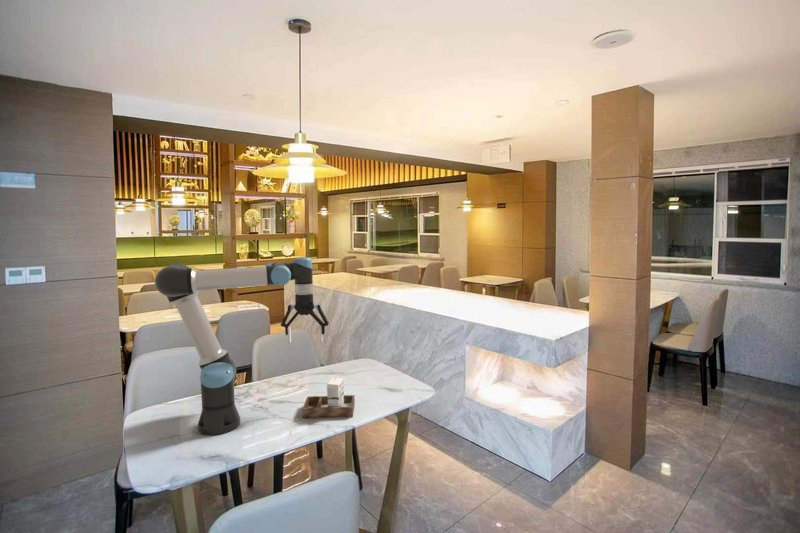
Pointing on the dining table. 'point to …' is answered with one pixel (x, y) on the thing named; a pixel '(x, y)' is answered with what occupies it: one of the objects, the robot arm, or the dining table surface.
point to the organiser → (320, 409)
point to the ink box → (335, 392)
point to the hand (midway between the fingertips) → (305, 342)
